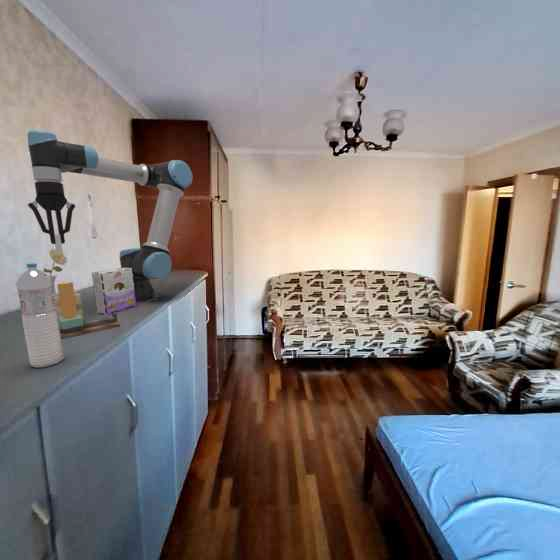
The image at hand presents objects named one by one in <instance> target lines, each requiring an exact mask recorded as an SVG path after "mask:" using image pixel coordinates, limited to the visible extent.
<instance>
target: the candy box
mask: <svg viewBox="0 0 560 560" xmlns="http://www.w3.org/2000/svg"><path fill="white" fill-rule="evenodd" d="M91 275H92V276H91V277H92V283H93V284H92V285H93V291H94V299H95V300H94V301H95V307H96V314H100V315H104V316H108V315H111V314H112V313H113V312H115V313H117V312H121V311H124V310H127V309H130V308H135V307H137V301H136V297H135V288H134V280H133V271H132V268H121V267H119V268H114V269H108V270H107V269H106V270H101V271H95V272H92V273H91Z"/></svg>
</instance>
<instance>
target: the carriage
mask: <svg viewBox="0 0 560 560" xmlns="http://www.w3.org/2000/svg"><path fill="white" fill-rule="evenodd" d="M57 291H58V293H59V299H60V306H61V313H62V316H59V317H58V318H59V324H60V327H61V328H62V330H63V329H68V328H73V327H78V326H83V320H82V317H81V316H80V315H79V314H78V313H77V309H76V302H75V295H74V291H75V288H74V281H66V282H65V281H64V282H63V281H62V282H60V283H57ZM58 293H57V294H58Z"/></svg>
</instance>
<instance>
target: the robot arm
mask: <svg viewBox="0 0 560 560" xmlns="http://www.w3.org/2000/svg"><path fill="white" fill-rule="evenodd" d="M26 137H27V147H28V149H29V150H28V151H29V156H30V163H31V168H32V174H33V175H32V176H33V180H34V181H35V182H34V188H35V194H36V196H35V200H34V201H32V202H29V203H28V204H27V206H28V208H29V209H31V211H32V212H33V214H34V216H35V219H36V220H37V223H38V225H39V227H40V230H41V231H42V232H43V233H45V234H48V235H49V239H50V243H51V244H52V245H54V246H55V248H56V253H57V254H63V255H64V252H63V247H62V246H63V245H62V244H65V243H66V239H65V234H67V233H70V231H71V225H72V216H73V212H74V209H75V208H76V204H74V203H71V202H69V201H68V199H67V198H66V195H65V190H64V189H65V188H64V184H63V183H62V182H63V175H62V173H63V174H65V173H72V174H80V175H87V176H94V177H100V178H105V179H111V180H112V179H113V180H119V181H126V182H132V183H137V184H138V185H140V186H144V187H148V188H153V189H158V190H159V193H158V197H157V200H156V204H155V209H154V212H153V217H152V221H151V224H150V228H149V231H148V236H147V240H146V242H144V243H143V244H142V245H141V246H140V247H138V248H137V247H135V248H127V249H122V250H121V251H119V261H120V262H119V264H120V268H132V271H133V280H134V288H135V297H136V302H139V301H145V300H146V301H147V300H150V299H153V298H155V297H156V291H155V288H154V285H153V284H152V282H151V280H160V279H162V278H165V277H167V276H168V274H169V273H170V272H171V269H172V266H173V265H172V264H173V262H172V260H171V257H170V253H171V252H170V249H169V248H168V245H169V241H170V236H171V233H172V230H173V225H174V221H175V216H176V213H177V210H178V209H177V208H178V204H179V200H180V198H181V197H183V196H184V195H185V192H186V188H188V187H189V186H191V184H192V182H193V178H194V177H193V172H192V171H191V167H190V166H189V165H188V164H187V163H186V162H184V161H183V160H180V159H179V160H178V159H176V160H175V159H172V160H169V161H165V162H160V163H155V164H145V163H140V164H134V163H128V162H124V161H119V160H115V159H109V158H103V157H99V154H98V152H97V150H96V149H95V148H94V147H92V146H88V145H85V144H84V145H81V144H75V143H70V142H64V141H60V140H58V138H57V135H56V134H55V133H53V132H52V131H51V132H50V131H48V130H43V129H32V130H29V131H28V132H27V136H26ZM38 205H39V206H40V207H41V208H42V209H43V210H44V211H45V214H46V220H47V225H46V224H45V222H44V219H43V218H42V216H41V213H40V211H39V210H38V208H39V206H38ZM65 205H66V209H67V212H66V217H65V224H64V225H63V217H62V210H63V209H64V207H65ZM52 211H54V213H55V217H56V225H57V231H58V234H57V233H56V234H55V228H54V221H53V213H52ZM47 227H48V229H47Z"/></svg>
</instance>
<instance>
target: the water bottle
mask: <svg viewBox="0 0 560 560" xmlns="http://www.w3.org/2000/svg"><path fill="white" fill-rule="evenodd" d="M26 268H27V270H26V271H25V272H23V273H22V274H21V275H20V276H19V277H18V279H17V280H16V281H15V282H16V283H15V286H16V290H17V294H18V300H19V305H20V310H21V318H22V319H21V321H22V326H23V330H24V331H23V332H24V337H25V338H24V339H25V344H26V348H27V355H28V360H29V364H30V366H31V367H32V368H35V369H37V368H39V369H41V368H46V367H47V368H48V367H51V366H55V365H57V364H59V363H60V362H62V361H63V360H64V354H65V353H64V349H63V348H64V347H63V341H62V339H61V334H60V328H59V321H58V314H57V310H56V305H55V299H54V292H53V286H52V285H53V282H52V279H51V278H50V277H49V275H48V274H47V272H44V271H43V270H40V269H38V264H37V263H36V262H30V263H26Z"/></svg>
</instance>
